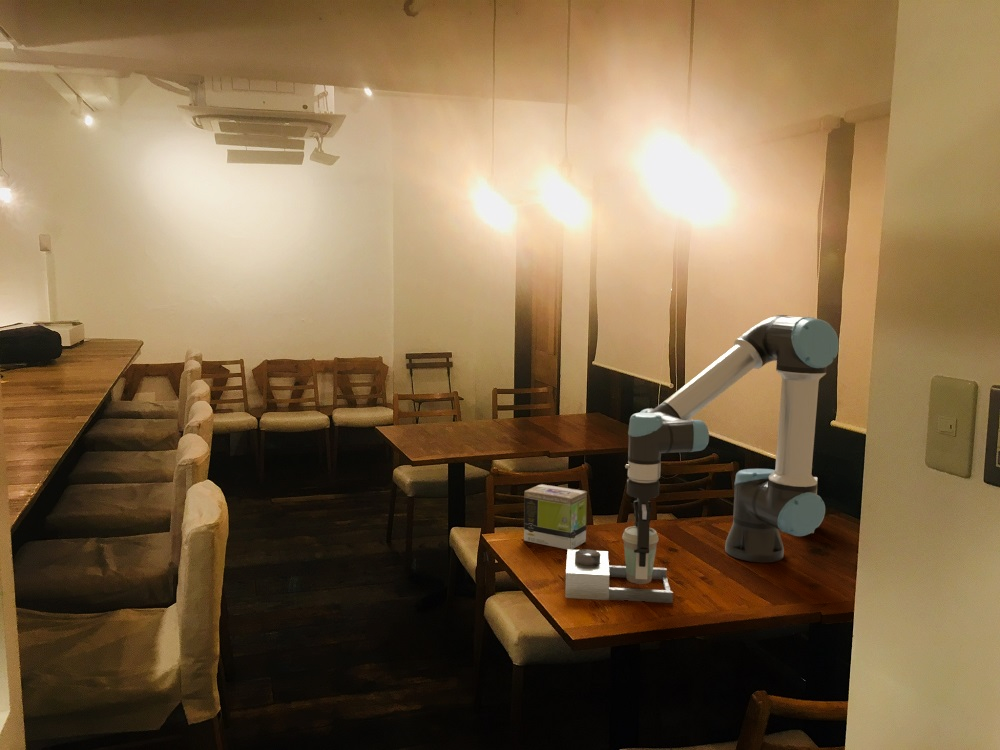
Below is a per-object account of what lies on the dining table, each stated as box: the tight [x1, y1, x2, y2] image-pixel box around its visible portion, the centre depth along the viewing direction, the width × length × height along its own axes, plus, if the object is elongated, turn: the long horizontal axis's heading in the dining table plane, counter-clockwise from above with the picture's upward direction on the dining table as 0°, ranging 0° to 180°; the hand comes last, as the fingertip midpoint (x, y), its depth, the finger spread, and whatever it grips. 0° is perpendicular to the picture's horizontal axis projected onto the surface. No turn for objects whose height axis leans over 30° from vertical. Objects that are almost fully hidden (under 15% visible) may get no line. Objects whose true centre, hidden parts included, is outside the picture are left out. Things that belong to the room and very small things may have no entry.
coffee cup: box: [621, 525, 660, 585], centre depth 192 cm, size 8×9×12 cm
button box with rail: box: [564, 548, 674, 604], centre depth 193 cm, size 24×16×8 cm, turn 84°
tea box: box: [523, 483, 588, 550], centre depth 225 cm, size 15×10×15 cm
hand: (640, 571), depth 192 cm, fingers closed on coffee cup, 8 cm apart
